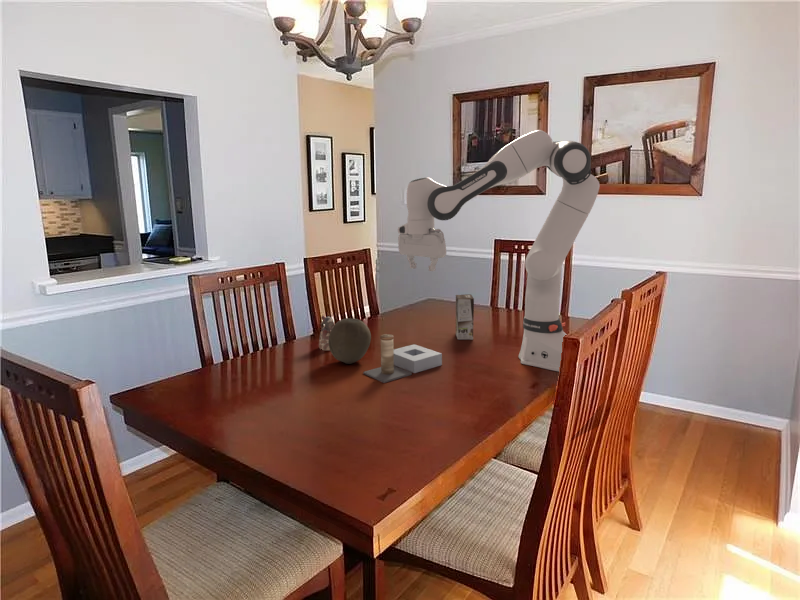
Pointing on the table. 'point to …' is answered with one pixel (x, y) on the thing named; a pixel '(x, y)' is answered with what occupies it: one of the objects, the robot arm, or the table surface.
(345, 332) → the cantaloupe
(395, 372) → the mat
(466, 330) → the coffee box
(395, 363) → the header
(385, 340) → the peg
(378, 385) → the table surface
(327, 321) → the figurine
